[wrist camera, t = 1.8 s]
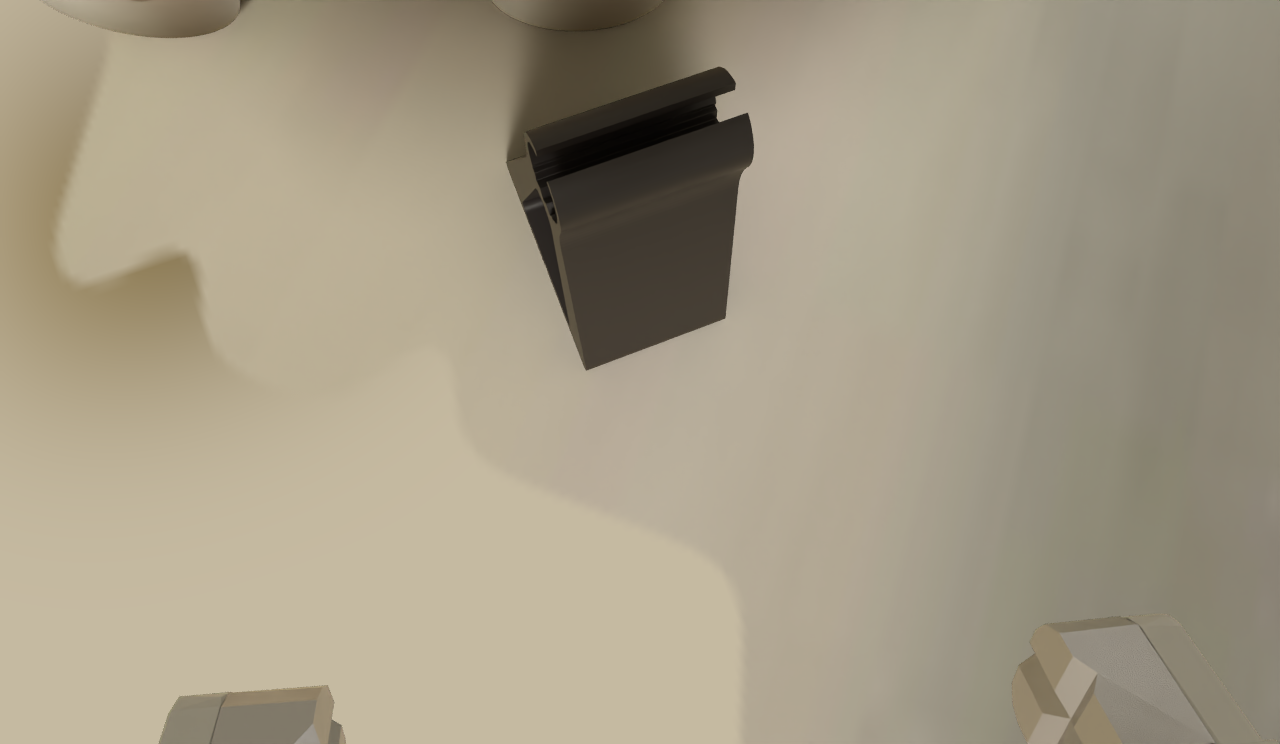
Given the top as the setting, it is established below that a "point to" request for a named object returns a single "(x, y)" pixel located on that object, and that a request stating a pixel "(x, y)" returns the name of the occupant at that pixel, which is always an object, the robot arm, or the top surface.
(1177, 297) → the top surface
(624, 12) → the wheeled trolley
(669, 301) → the door stopper
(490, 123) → the top surface
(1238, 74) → the top surface
